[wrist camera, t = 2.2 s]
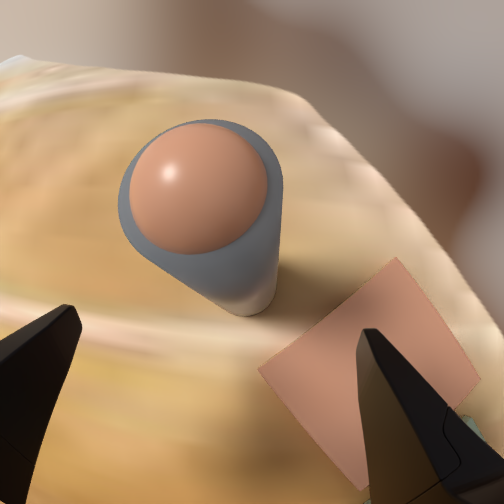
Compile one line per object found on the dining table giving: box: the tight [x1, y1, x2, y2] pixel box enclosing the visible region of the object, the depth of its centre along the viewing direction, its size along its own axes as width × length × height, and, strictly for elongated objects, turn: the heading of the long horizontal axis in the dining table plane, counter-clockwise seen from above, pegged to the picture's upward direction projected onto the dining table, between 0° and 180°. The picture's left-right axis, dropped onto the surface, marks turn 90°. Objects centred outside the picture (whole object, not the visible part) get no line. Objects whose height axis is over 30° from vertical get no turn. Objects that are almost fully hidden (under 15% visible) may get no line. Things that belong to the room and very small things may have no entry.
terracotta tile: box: [257, 257, 480, 491], centre depth 17 cm, size 11×11×1 cm
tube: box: [118, 119, 283, 316], centre depth 13 cm, size 4×4×14 cm
